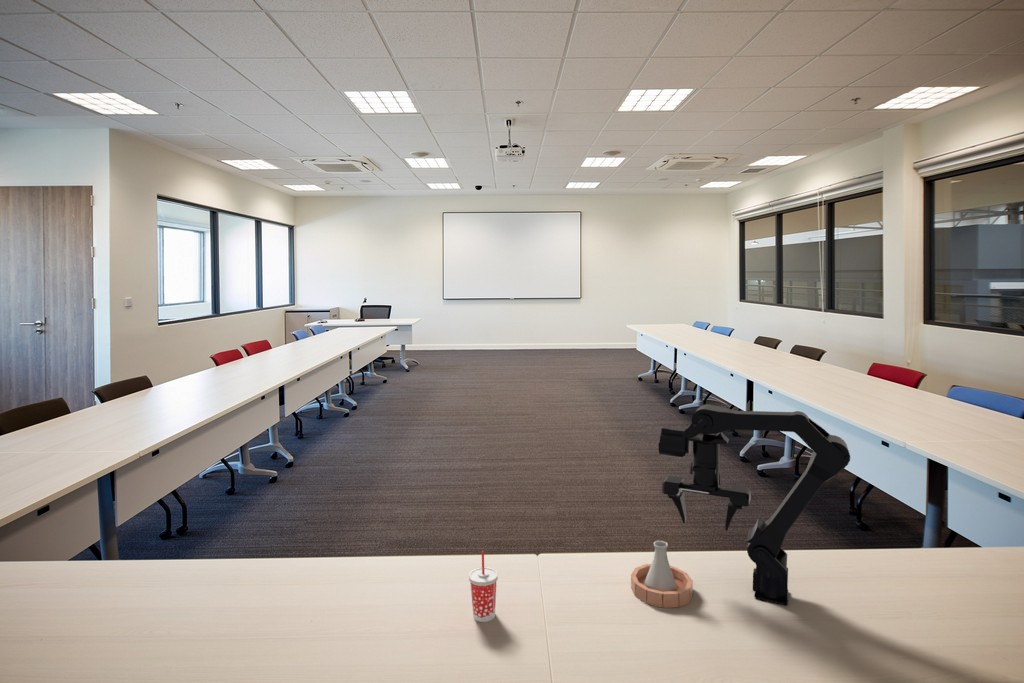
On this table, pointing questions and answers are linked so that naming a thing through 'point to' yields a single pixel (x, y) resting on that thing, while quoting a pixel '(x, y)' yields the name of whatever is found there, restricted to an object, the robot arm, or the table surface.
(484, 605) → the beverage cup
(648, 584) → the flask
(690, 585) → the bowl
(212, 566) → the table surface
